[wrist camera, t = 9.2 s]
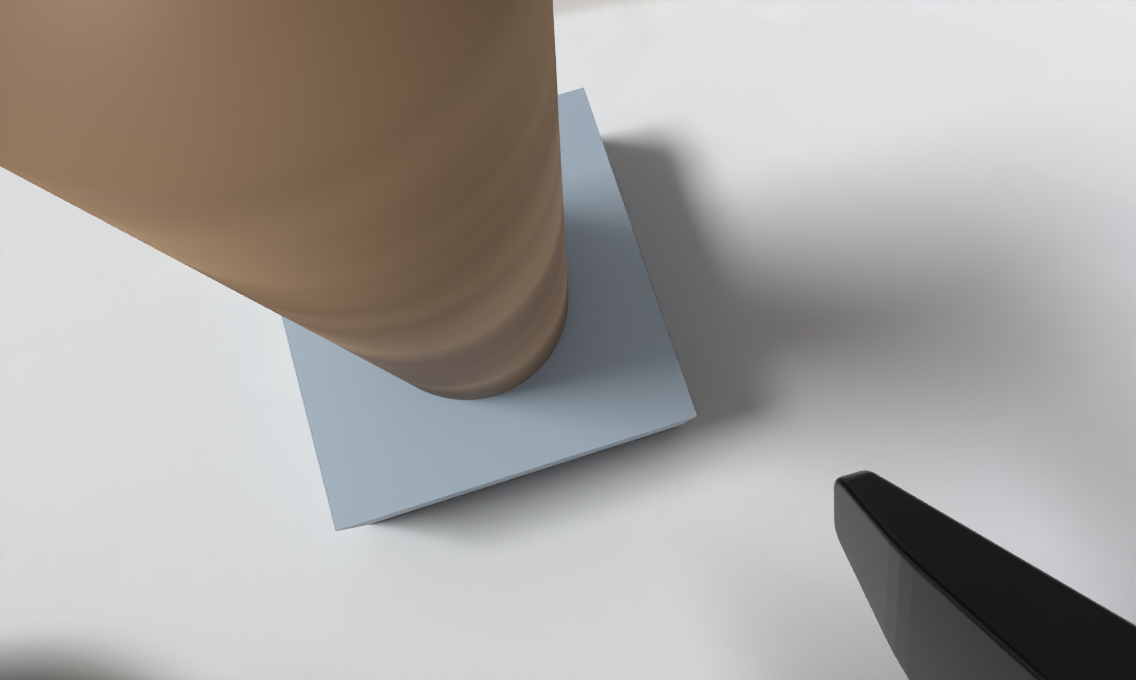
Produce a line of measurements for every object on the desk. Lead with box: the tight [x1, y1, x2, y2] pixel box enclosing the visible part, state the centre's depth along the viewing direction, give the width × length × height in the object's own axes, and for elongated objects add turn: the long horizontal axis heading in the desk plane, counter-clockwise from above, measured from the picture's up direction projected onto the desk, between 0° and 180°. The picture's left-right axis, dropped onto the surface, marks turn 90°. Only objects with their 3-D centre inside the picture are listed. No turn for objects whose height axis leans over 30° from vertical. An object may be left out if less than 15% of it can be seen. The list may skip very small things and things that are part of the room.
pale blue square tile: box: [282, 88, 697, 531], centre depth 21 cm, size 9×9×3 cm
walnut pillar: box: [0, 0, 568, 400], centre depth 12 cm, size 5×5×14 cm
